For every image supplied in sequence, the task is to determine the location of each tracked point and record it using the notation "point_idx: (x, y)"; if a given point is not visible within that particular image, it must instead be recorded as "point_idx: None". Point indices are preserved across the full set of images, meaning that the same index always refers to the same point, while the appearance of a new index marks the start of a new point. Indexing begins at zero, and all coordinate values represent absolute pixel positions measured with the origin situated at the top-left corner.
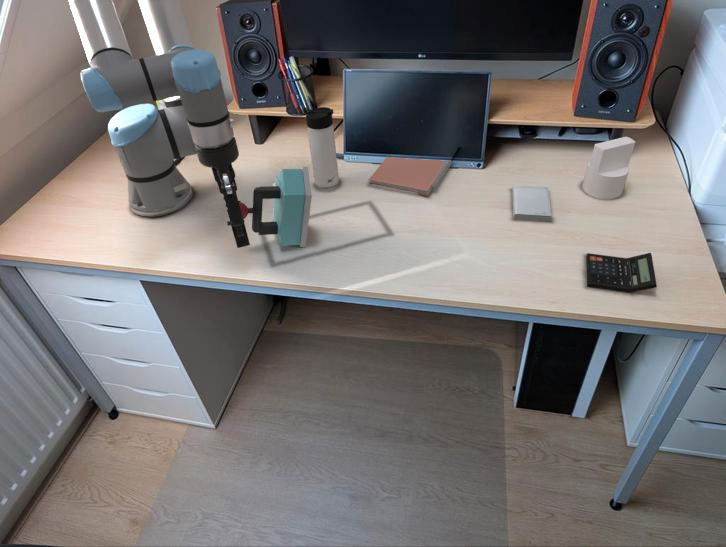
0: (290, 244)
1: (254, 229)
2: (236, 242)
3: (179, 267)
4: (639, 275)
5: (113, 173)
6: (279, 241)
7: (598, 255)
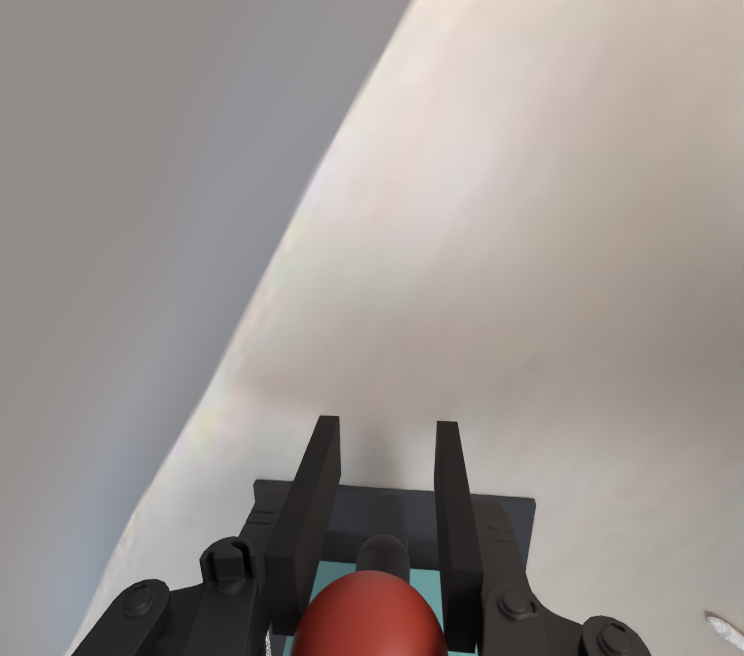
0: None
1: (361, 557)
2: (312, 439)
3: (416, 51)
4: None
5: None
6: (317, 574)
7: None
